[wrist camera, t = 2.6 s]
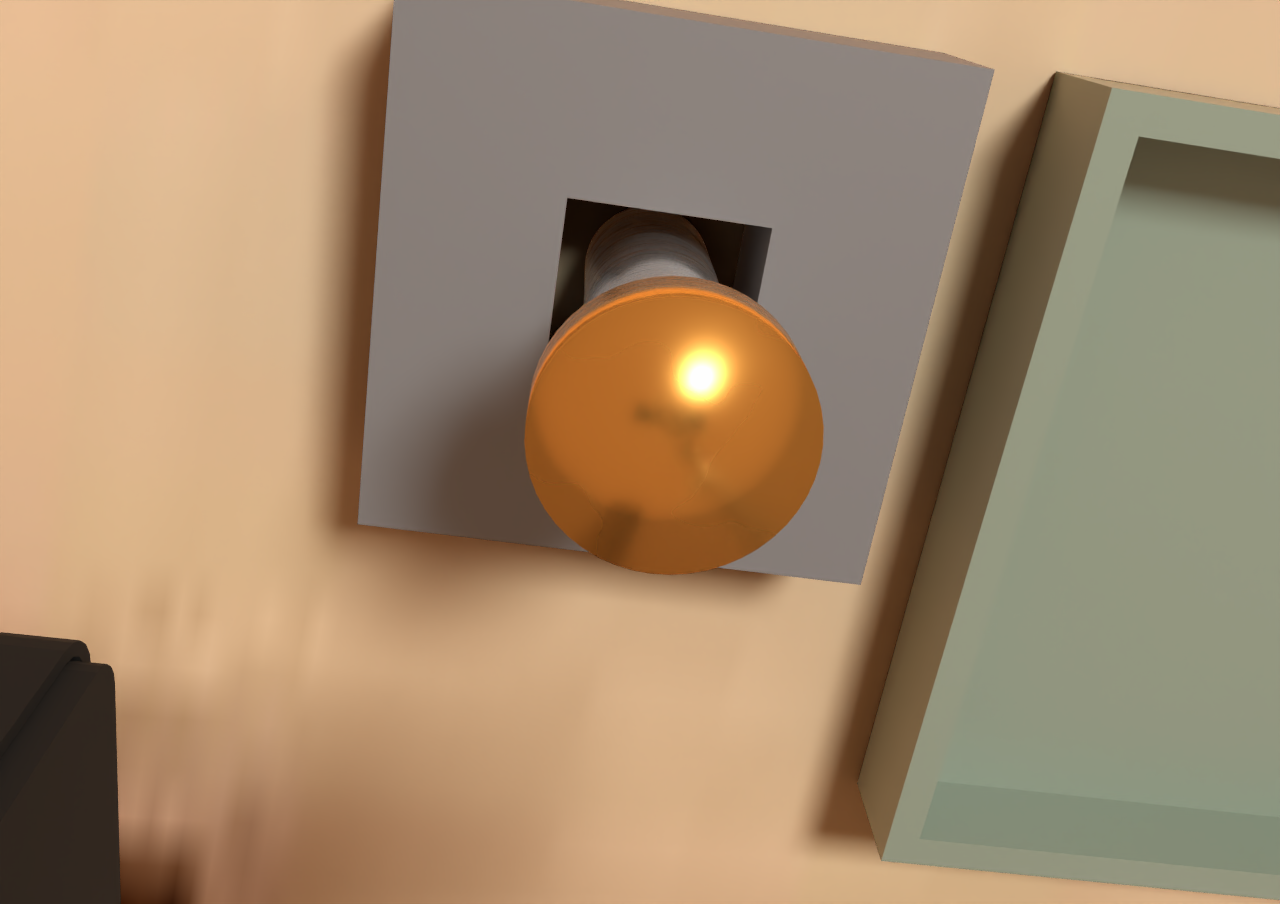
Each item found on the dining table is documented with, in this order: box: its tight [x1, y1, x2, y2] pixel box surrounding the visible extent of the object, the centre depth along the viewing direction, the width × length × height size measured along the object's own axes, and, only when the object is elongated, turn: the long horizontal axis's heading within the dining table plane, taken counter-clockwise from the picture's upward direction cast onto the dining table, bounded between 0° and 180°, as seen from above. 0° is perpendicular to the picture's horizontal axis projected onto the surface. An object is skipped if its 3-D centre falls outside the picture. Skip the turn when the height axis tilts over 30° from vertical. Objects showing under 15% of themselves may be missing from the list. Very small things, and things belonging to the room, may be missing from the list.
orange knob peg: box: [524, 207, 824, 575], centre depth 22 cm, size 4×4×10 cm
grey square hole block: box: [358, 0, 994, 585], centre depth 25 cm, size 11×11×4 cm
